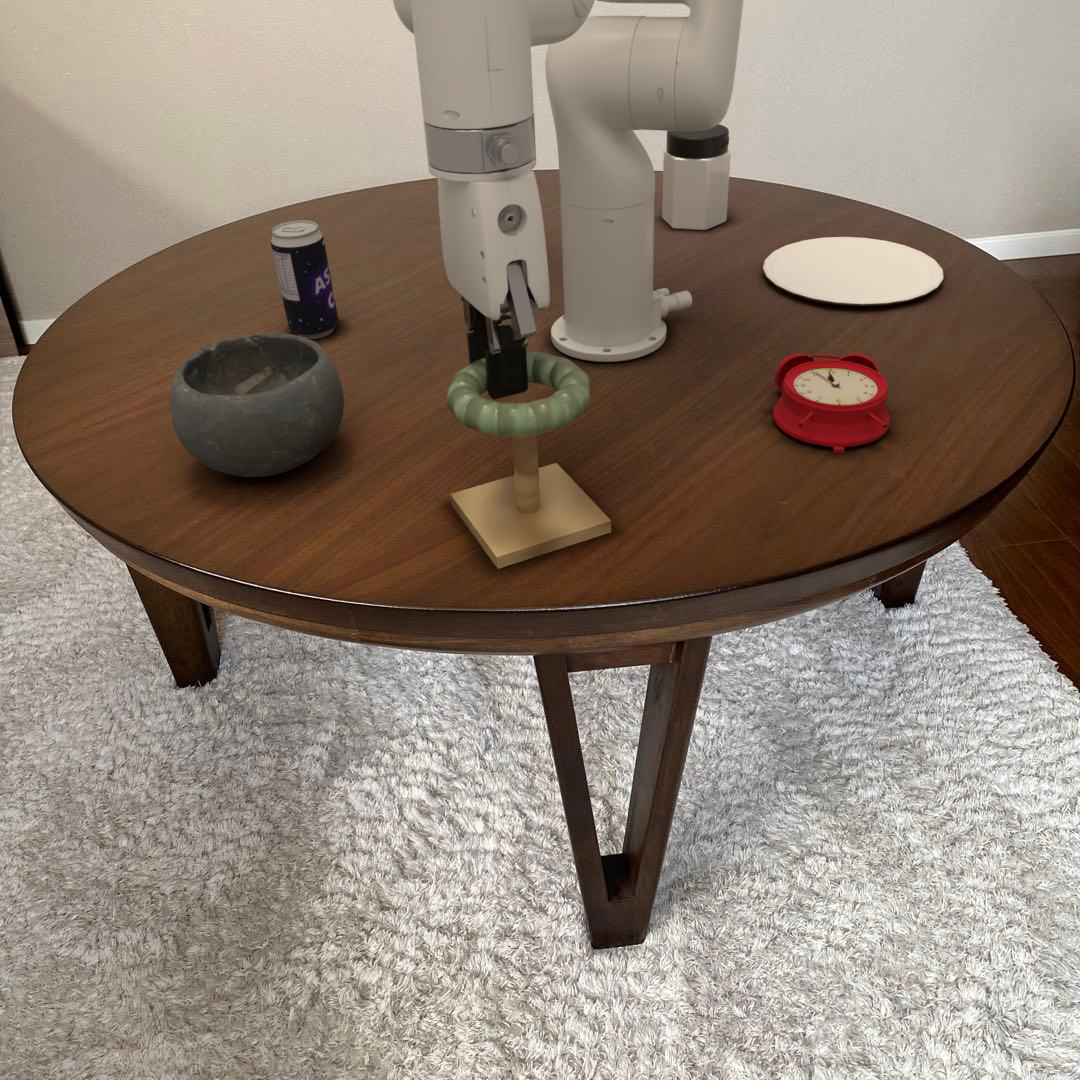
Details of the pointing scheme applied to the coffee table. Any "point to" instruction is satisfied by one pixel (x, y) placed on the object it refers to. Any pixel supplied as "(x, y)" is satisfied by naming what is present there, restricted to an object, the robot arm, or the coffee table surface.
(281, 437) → the bowl
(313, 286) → the beverage can
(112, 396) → the coffee table surface
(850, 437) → the alarm clock
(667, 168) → the jar
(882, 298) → the plate
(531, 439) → the stand
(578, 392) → the ring
